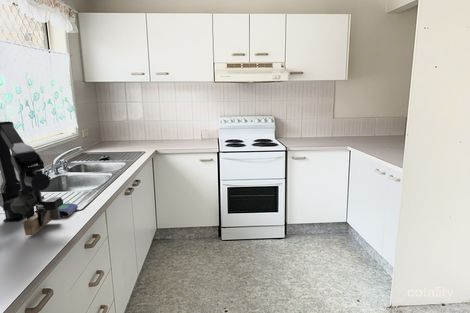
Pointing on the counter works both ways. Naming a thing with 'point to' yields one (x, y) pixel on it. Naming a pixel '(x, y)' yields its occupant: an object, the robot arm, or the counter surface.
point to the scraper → (33, 224)
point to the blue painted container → (67, 209)
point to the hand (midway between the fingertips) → (37, 226)
